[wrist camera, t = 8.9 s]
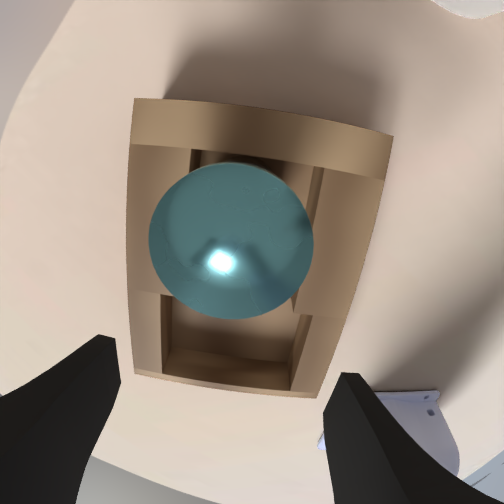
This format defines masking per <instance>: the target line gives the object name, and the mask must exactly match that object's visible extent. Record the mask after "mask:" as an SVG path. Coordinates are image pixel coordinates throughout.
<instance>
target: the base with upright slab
mask: <svg viewBox="0 0 504 504" xmlns="http://www.w3.org/2000/svg"><path fill="white" fill-rule="evenodd" d="M432 1H433V2H435V3H436V4H437V5H439V6H441V7H442V8H444V9H446V10H448V11H450V12H451V13H453V14H456V15H459V16H462V17H465V18H472V19H481V18H485V17H488V16H491V15H494V14H497V13H500V12H504V0H432Z"/></svg>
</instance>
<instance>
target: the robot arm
mask: <svg viewBox="0 0 504 504" xmlns="http://www.w3.org/2000/svg"><path fill="white" fill-rule="evenodd" d="M120 384H121V379H120V372H119V365H118V358H117V350H116V341H115V338H112V337H108V336H104V335H100V334H98V335H97V336H95V337H94V338H92V339H91V340H89V341H88V342H87V343H85V344H84V345H82V346H81V347H80V348H78V349H77V350H76V351H74V352H73V353H71V354H70V355H69V356H67V357H66V358H65V359H63V360H62V361H60V362H59V363H57V364H56V365H55V366H53V367H52V368H50V369H49V370H47V371H46V372H44V373H42V374H41V375H39V376H38V377H36V378H35V379H33V380H31V381H30V382H28V383H27V384H25V385H23V386H21V387H20V388H18V389H16V390H14V391H12V392H10V393H8V394H6V395H4V396H2V397H0V504H75V503H76V499H77V495H78V491H79V487H80V484H81V481H82V477H83V473H84V470H85V467H86V465H87V462H88V460H89V457H90V455H91V453H92V451H93V449H94V447H95V444H96V442H97V440H98V438H99V436H100V434H101V432H102V430H103V427H104V425H105V423H106V421H107V419H108V417H109V415H110V413H111V411H112V408H113V406H114V403H115V400H116V397H117V394H118V391H119V387H120ZM439 395H440V393H439V391H438V390H433V391H415V392H373V390H372V389H371V388H370V387H369V385H368V384H367V383H366V381H365V380H364V379H363V378H362V376H361V375H360V374H359V373H345V372H341V375H340V377H339V379H338V381H337V384H336V386H335V388H334V390H333V393H332V395H331V397H330V399H329V401H328V403H327V405H326V408H325V410H324V412H323V425H324V433H323V435H322V437H321V439H320V440H319V442H318V444H317V448H318V449H320V450H326V453H327V459H328V464H329V470H330V476H331V481H332V487H333V493H334V502H335V504H504V503H503V502H500V501H498V500H496V499H494V498H492V497H489V496H487V495H485V494H484V493H482V492H480V491H478V490H476V489H475V488H473V487H471V486H470V485H468V484H467V483H465V482H463V481H462V480H460V479H459V478H458V477H457V474H458V471H459V461H460V459H459V451H458V447H457V445H456V442H455V440H454V438H453V436H452V434H451V431H450V429H449V427H448V425H447V423H446V421H445V419H444V416H443V414H442V412H441V410H440V408H439V406H438V404H437V402H436V400H437V399H438V397H439Z"/></svg>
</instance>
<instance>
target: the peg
mask: <svg viewBox="0 0 504 504" xmlns="http://www.w3.org/2000/svg"><path fill="white" fill-rule="evenodd" d="M313 248H314V240H313V231H312V227H311V223H310V220H309V218H308V215H307V212H306V210H305V208H304V206H303V205H302V203H301V201H300V199H299V198H298V196H297V195H296V194H295V192H294V191H293V190H292V189H291V188H290V187H289V186H288V185H287V184H286V183H285V182H284V181H283V180H282V179H280V178H279V177H278V176H276V175H275V174H274V173H273V171H272V170H271V169H270V168H269V167H268V166H267V165H266V164H265V163H264V162H262V161H260V160H258V159H256V158H253V157H248V156H238V157H233V158H230V159H228V160H226V161H224V162H219V163H213V164H209V165H206V166H203V167H200V168H198V169H196V170H194V171H192V172H190V173H189V174H187V175H186V176H184V177H183V178H181V179H180V180H178V181H177V182H176V183H175V184H174V185H173V186H172V187H170V188H169V189H168V191H167V192H166V193H165V194H164V195H163V197H162V198H161V200H160V201H159V203H158V204H157V206H156V209H155V211H154V213H153V215H152V219H151V223H150V227H149V252H150V257H151V260H152V264H153V266H154V269H155V271H156V273H157V275H158V277H159V278H160V280H161V282H162V283H163V284H164V286H165V287H166V288H167V290H168V291H169V292H170V293H171V294H172V295H173V296H174V297H175V298H177V299H178V300H179V301H180V302H182V303H183V304H185V305H186V306H188V307H189V308H191V309H193V310H195V311H197V312H199V313H202V314H205V315H208V316H211V317H216V318H222V319H246V318H251V317H256V316H259V315H262V314H265V313H267V312H269V311H272V310H274V309H276V308H277V307H279V306H280V305H282V304H283V303H285V302H286V301H287V300H288V299H289V298H290V297H292V295H293V294H294V293H295V292H296V291H297V290H298V289H299V287H300V286H301V284H302V283H303V281H304V279H305V278H306V276H307V274H308V271H309V268H310V265H311V262H312V257H313Z"/></svg>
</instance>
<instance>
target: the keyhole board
mask: <svg viewBox="0 0 504 504" xmlns="http://www.w3.org/2000/svg"><path fill="white" fill-rule="evenodd" d="M393 137H394V136H391V135H388V134H384V133H380V132H377V131H373V130H369V129H365V128H361V127H357V126H353V125H349V124H344V123H340V122H335V121H331V120H326V119H321V118H316V117H311V116H306V115H300V114H295V113H289V112H283V111H277V110H270V109H264V108H257V107H249V106H241V105H233V104H224V103H213V102H202V101H189V100H173V99H147V98H134V105H133V114H132V124H131V135H130V147H129V161H128V178H127V206H126V262H127V290H128V307H129V322H130V334H131V345H132V355H133V364H134V372H135V374H139V375H143V376H148V377H152V378H157V379H162V380H167V381H172V382H178V383H183V384H189V385H195V386H201V387H207V388H214V389H221V390H228V391H236V392H244V393H253V394H262V395H273V396H284V397H298V398H317V396H318V393H319V391H320V388H321V386H322V383H323V381H324V378H325V376H326V373H327V371H328V368H329V365H330V363H331V360H332V357H333V355H334V352H335V349H336V347H337V344H338V341H339V338H340V336H341V333H342V330H343V327H344V324H345V321H346V318H347V315H348V312H349V309H350V306H351V303H352V300H353V297H354V294H355V291H356V287H357V284H358V281H359V278H360V274H361V271H362V268H363V264H364V261H365V257H366V254H367V250H368V246H369V243H370V239H371V235H372V232H373V228H374V224H375V220H376V216H377V212H378V208H379V204H380V199H381V195H382V191H383V186H384V182H385V177H386V173H387V168H388V163H389V158H390V153H391V148H392V142H393ZM238 156H248V157H253V158H256V159H258V160H260V161H262V162H264V163H265V164H266V165H267V166H268V167H269V168H270V169H271V170H272V171H273V173H274V174H275V175H276V176H278V177H279V178H280V179H282V180H283V181H284V182H285V183H286V184H287V185H288V186H289V187H290V188H291V189H292V190H293V191H294V192H295V194H296V195H297V196H298V198H299V199H300V201H301V203H302V205H303V206H304V208H305V210H306V212H307V215H308V218H309V220H310V223H311V227H312V231H313V240H314V248H313V257H312V262H311V265H310V268H309V271H308V274H307V276H306V278H305V279H304V281H303V283H302V284H301V286H300V287H299V289H298V290H297V291H296V292H295V293H294V294H293V295H292V297H290V298H289V299H288V300H287V301H286V302H285V303H283V304H282V305H280V306H279V307H277V308H276V309H274V310H272V311H269V312H267V313H265V314H262V315H259V316H256V317H251V318H246V319H222V318H216V317H211V316H208V315H205V314H202V313H199V312H197V311H195V310H193V309H191V308H189V307H188V306H186V305H185V304H183V303H182V302H180V301H179V300H178V299H177V298H175V297H174V296H173V295H172V294H171V293H170V292H169V291H168V290H167V288H166V287H165V286H164V284H163V283H162V282H161V280H160V278H159V277H158V275H157V273H156V271H155V269H154V266H153V264H152V260H151V257H150V252H149V227H150V223H151V219H152V215H153V213H154V211H155V209H156V206H157V204H158V203H159V201H160V200H161V198H162V197H163V195H164V194H165V193H166V192H167V191H168V189H169V188H170V187H172V186H173V185H174V184H175V183H176V182H177V181H178V180H180V179H181V178H183V177H184V176H186V175H187V174H189V173H190V172H192V171H194V170H196V169H198V168H200V167H203V166H206V165H209V164H213V163H219V162H224V161H226V160H228V159H230V158H233V157H238Z"/></svg>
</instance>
